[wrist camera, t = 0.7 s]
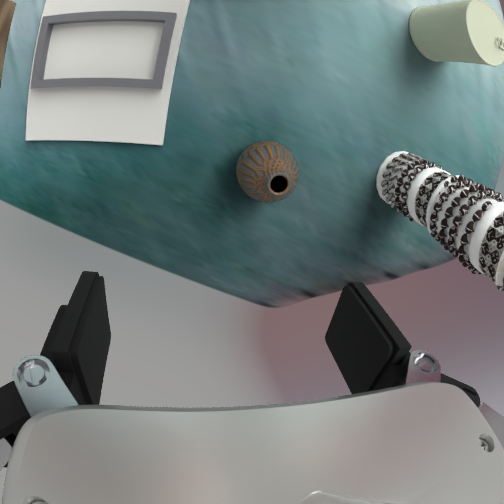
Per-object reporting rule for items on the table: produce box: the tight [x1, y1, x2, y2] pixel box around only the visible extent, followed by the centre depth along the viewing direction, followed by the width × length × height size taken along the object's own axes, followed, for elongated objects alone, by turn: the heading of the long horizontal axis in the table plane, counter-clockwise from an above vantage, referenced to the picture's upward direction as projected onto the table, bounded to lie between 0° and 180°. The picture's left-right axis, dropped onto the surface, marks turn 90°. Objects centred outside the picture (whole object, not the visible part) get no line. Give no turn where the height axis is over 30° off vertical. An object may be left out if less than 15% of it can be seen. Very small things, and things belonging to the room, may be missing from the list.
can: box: [409, 0, 504, 66], centre depth 27 cm, size 9×9×12 cm
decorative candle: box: [376, 151, 504, 291], centre depth 32 cm, size 9×9×25 cm
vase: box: [236, 141, 299, 203], centre depth 34 cm, size 7×7×9 cm
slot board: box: [26, 0, 190, 145], centre depth 26 cm, size 22×18×2 cm
